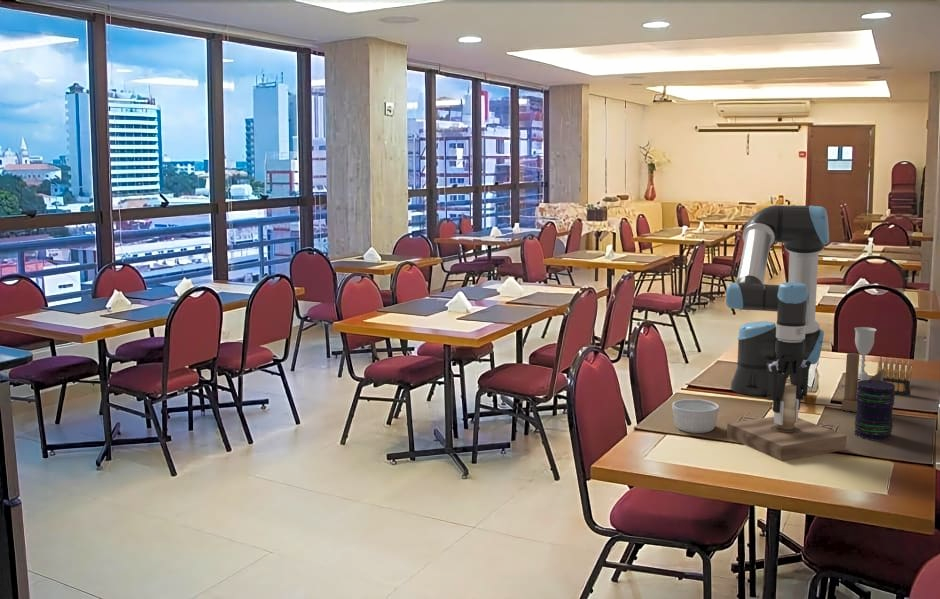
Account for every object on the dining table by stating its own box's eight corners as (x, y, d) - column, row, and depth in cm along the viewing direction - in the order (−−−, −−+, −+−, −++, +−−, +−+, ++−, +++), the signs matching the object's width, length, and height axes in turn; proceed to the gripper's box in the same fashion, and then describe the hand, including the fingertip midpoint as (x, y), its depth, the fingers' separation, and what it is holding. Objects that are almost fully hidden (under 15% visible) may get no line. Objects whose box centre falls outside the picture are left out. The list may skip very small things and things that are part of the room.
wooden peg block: (878, 416, 275) (882, 358, 272) (841, 410, 282) (844, 354, 279) (881, 413, 278) (885, 356, 275) (844, 408, 284) (848, 352, 282)
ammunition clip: (874, 391, 304) (877, 356, 302) (875, 390, 306) (878, 355, 304) (909, 396, 298) (912, 360, 296) (910, 394, 300) (913, 359, 298)
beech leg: (771, 440, 251) (774, 384, 249) (785, 438, 253) (788, 382, 250) (783, 445, 247) (786, 388, 244) (797, 443, 249) (800, 386, 246)
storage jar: (899, 439, 253) (903, 387, 250) (867, 441, 251) (870, 389, 249) (877, 429, 262) (881, 379, 260) (846, 431, 261) (850, 380, 259)
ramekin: (689, 436, 256) (690, 413, 255) (662, 424, 268) (663, 401, 267) (727, 431, 262) (728, 407, 260) (698, 419, 273) (699, 396, 272)
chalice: (874, 377, 322) (878, 328, 319) (871, 381, 317) (874, 331, 314) (852, 375, 326) (855, 326, 323) (849, 379, 321) (852, 329, 318)
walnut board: (726, 436, 256) (727, 423, 255) (788, 427, 264) (789, 414, 264) (780, 460, 236) (781, 445, 235) (845, 450, 244) (846, 435, 243)
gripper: (774, 344, 239) (769, 430, 242) (825, 339, 245) (820, 422, 249) (755, 339, 245) (751, 422, 249) (805, 334, 252) (800, 415, 256)
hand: (785, 422), depth 249 cm, fingers closed on beech leg, 4 cm apart
